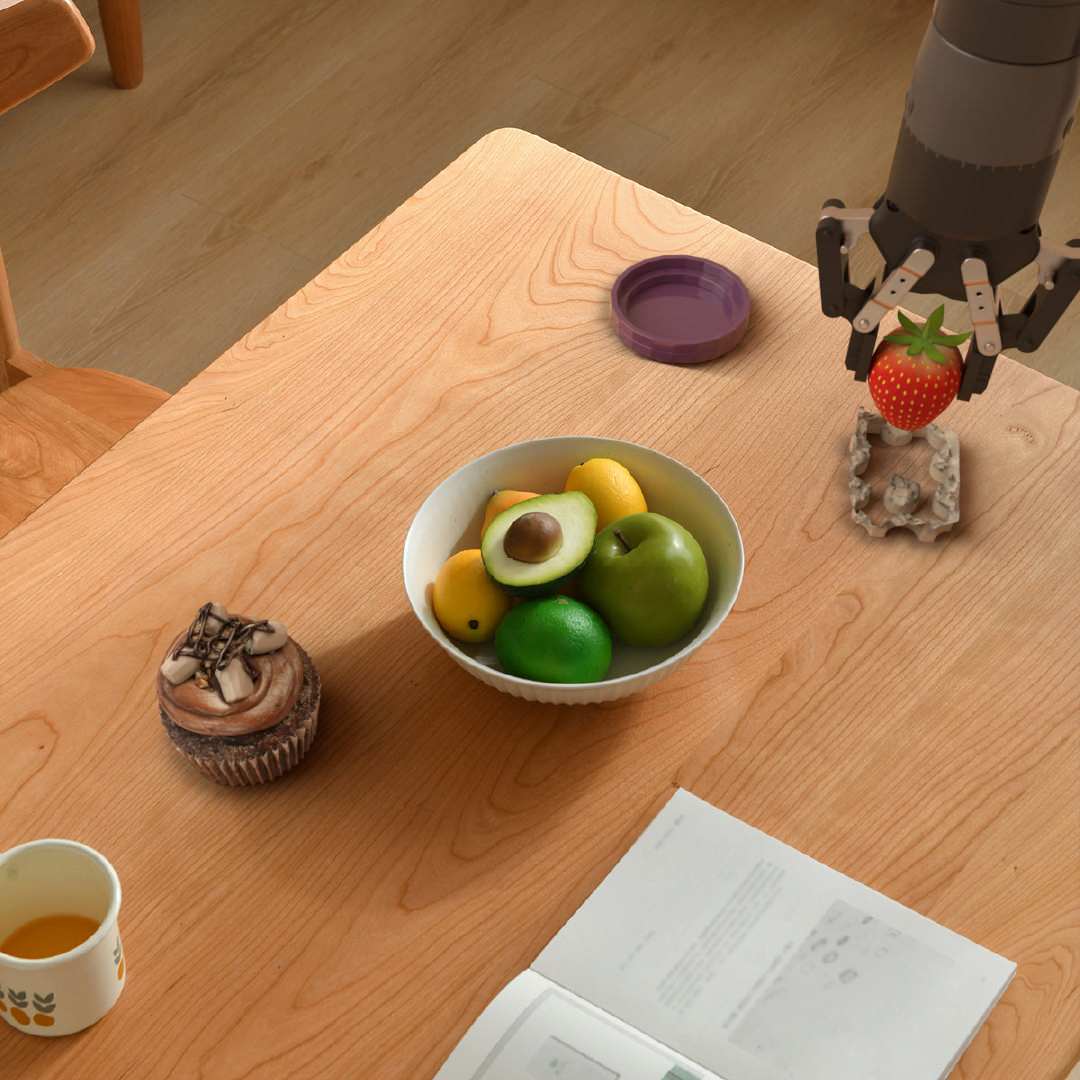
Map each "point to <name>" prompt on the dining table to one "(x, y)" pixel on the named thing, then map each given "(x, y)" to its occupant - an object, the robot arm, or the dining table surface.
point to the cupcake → (238, 697)
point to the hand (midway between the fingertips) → (911, 380)
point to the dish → (679, 308)
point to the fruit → (916, 371)
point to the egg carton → (903, 490)
